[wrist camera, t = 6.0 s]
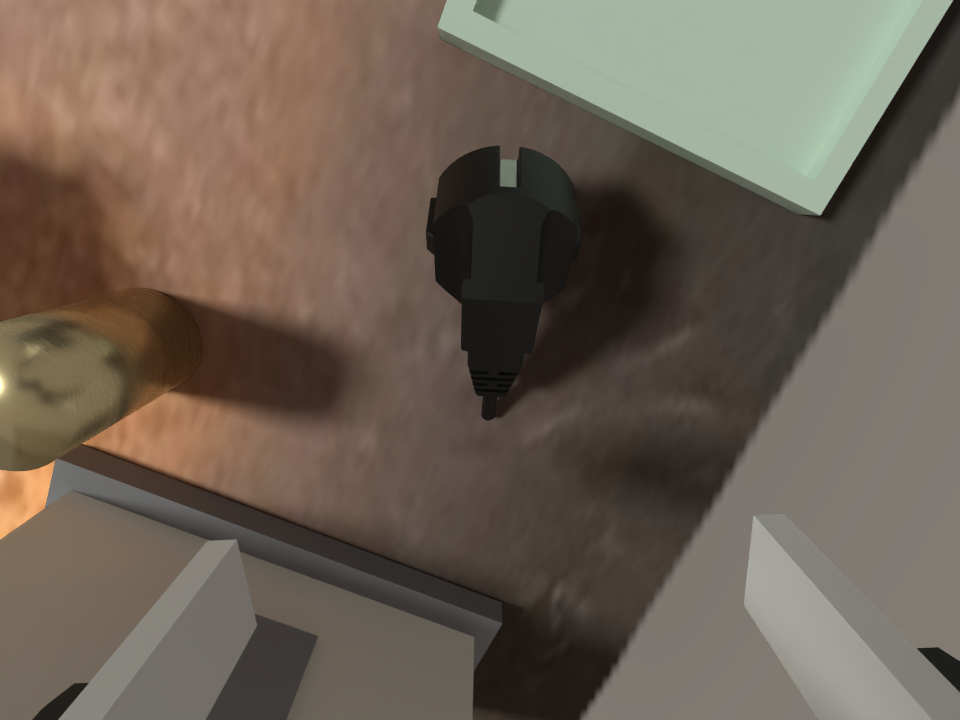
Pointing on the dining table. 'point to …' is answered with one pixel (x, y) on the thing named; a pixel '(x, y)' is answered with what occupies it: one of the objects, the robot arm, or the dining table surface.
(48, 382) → the cylinder
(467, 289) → the power plug
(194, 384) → the dining table surface
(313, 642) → the box
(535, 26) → the tray
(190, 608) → the robot arm
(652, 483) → the dining table surface
